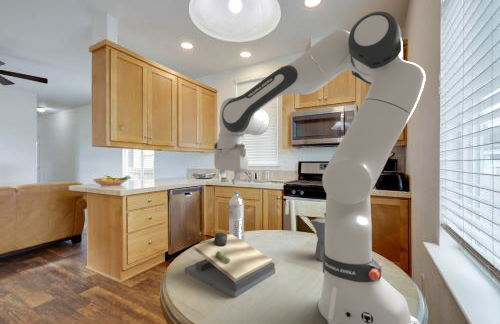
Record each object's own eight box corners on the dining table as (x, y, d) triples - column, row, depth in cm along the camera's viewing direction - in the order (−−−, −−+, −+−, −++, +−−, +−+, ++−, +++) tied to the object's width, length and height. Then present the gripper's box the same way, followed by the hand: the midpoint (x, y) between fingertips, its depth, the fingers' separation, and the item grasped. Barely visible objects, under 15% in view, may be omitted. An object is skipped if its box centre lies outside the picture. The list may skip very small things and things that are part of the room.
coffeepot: (311, 262, 90) (311, 215, 90) (307, 253, 99) (307, 210, 100) (353, 263, 89) (353, 216, 89) (344, 254, 98) (344, 211, 98)
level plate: (271, 262, 81) (273, 251, 80) (234, 282, 67) (237, 268, 66) (231, 237, 93) (233, 227, 93) (193, 249, 80) (195, 237, 79)
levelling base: (275, 272, 81) (275, 262, 81) (235, 297, 65) (235, 285, 66) (226, 255, 96) (226, 246, 96) (184, 272, 81) (184, 261, 81)
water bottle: (241, 250, 102) (242, 192, 103) (226, 248, 104) (227, 192, 104) (245, 244, 109) (245, 191, 110) (231, 243, 110) (231, 190, 111)
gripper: (253, 143, 77) (252, 186, 77) (226, 146, 94) (225, 180, 94) (236, 142, 73) (235, 186, 73) (211, 145, 91) (210, 180, 91)
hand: (229, 183), depth 84 cm, fingers open, 8 cm apart
